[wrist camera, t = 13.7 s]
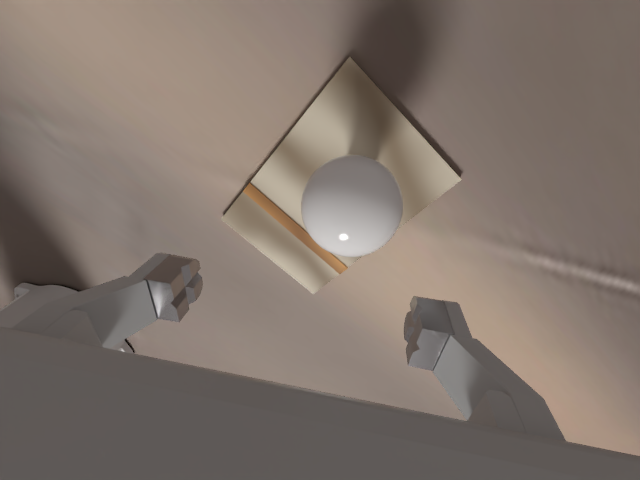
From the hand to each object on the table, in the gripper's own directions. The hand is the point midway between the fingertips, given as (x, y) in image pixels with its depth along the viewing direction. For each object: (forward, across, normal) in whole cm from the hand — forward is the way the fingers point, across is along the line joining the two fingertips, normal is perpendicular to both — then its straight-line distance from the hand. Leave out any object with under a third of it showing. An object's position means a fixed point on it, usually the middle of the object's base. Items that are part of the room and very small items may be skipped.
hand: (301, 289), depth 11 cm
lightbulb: (+17, -2, 0) cm, 17 cm away
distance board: (+17, +1, +3) cm, 17 cm away
